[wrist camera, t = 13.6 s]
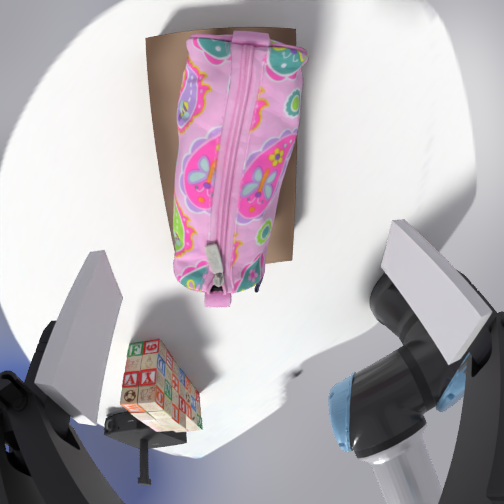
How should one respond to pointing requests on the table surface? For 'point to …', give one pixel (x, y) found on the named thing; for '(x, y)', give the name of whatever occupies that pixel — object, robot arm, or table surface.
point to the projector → (140, 438)
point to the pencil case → (232, 157)
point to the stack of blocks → (159, 390)
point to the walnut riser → (166, 130)
